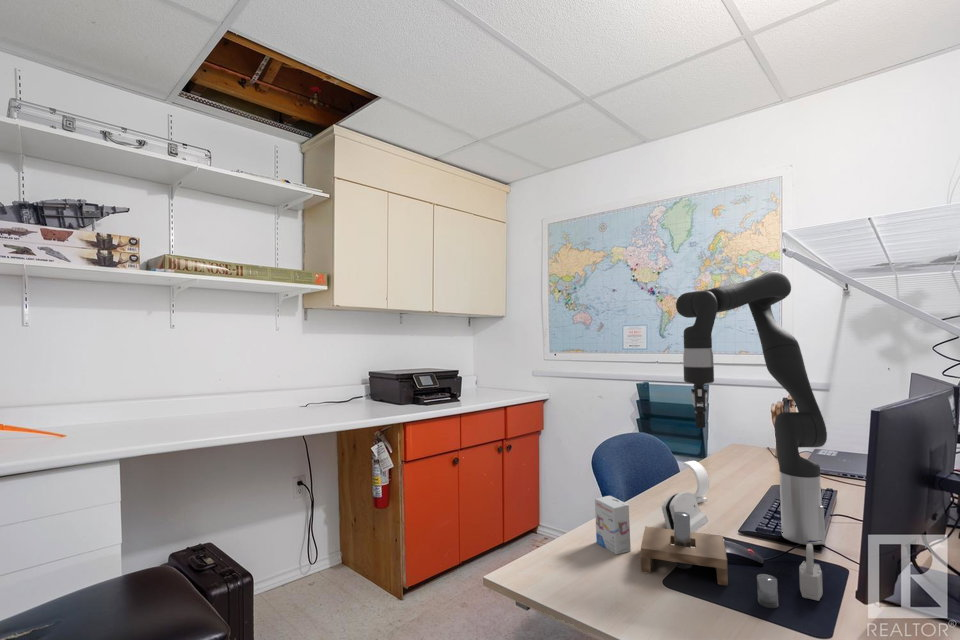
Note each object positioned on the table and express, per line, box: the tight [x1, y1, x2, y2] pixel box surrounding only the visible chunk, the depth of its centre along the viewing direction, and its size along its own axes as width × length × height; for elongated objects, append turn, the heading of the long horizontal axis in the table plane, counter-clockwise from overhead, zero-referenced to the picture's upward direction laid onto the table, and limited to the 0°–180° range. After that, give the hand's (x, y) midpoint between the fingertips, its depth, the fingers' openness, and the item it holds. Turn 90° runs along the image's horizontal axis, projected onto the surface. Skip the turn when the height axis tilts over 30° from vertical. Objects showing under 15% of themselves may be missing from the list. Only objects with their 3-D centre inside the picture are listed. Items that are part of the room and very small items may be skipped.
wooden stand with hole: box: [640, 526, 729, 586], centre depth 119 cm, size 18×14×6 cm
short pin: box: [756, 573, 779, 609], centre depth 102 cm, size 4×4×5 cm
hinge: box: [661, 491, 709, 532], centre depth 143 cm, size 17×5×10 cm, turn 137°
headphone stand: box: [683, 460, 710, 504], centre depth 164 cm, size 5×6×12 cm
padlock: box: [798, 543, 824, 602], centre depth 106 cm, size 7×4×10 cm, turn 144°
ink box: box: [594, 495, 632, 555], centre depth 130 cm, size 9×5×12 cm, turn 23°
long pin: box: [673, 512, 692, 570], centre depth 119 cm, size 4×4×12 cm
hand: (700, 424), depth 135 cm, fingers open, 8 cm apart
